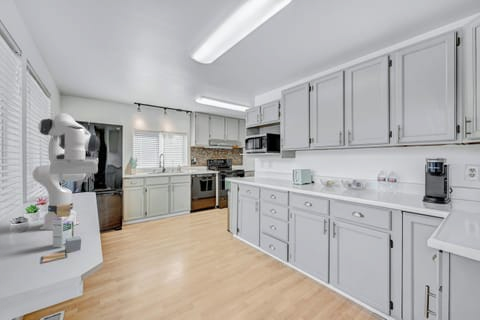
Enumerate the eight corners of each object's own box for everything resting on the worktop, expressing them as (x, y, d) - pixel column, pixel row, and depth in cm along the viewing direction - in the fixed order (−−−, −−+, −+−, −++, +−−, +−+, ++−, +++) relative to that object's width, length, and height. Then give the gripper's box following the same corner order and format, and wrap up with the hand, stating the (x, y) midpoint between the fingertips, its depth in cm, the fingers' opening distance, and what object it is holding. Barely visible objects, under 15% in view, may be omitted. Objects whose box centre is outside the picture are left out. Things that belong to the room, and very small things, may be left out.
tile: (41, 257, 89) (41, 255, 89) (66, 251, 95) (66, 250, 95) (39, 264, 83) (39, 263, 83) (67, 258, 88) (67, 256, 88)
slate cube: (65, 249, 96) (65, 238, 97) (78, 246, 100) (79, 236, 100) (66, 252, 93) (67, 241, 93) (80, 250, 96) (81, 239, 97)
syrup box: (62, 248, 99) (62, 217, 99) (52, 247, 100) (52, 216, 100) (73, 243, 104) (74, 214, 104) (64, 242, 105) (64, 213, 106)
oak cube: (56, 215, 102) (56, 205, 103) (69, 213, 106) (69, 203, 106) (56, 217, 99) (56, 206, 99) (70, 215, 102) (70, 205, 102)
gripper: (97, 156, 120) (97, 180, 120) (49, 155, 107) (49, 182, 107) (99, 156, 115) (98, 181, 115) (49, 156, 102) (48, 184, 102)
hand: (74, 182), depth 111 cm, fingers open, 8 cm apart
